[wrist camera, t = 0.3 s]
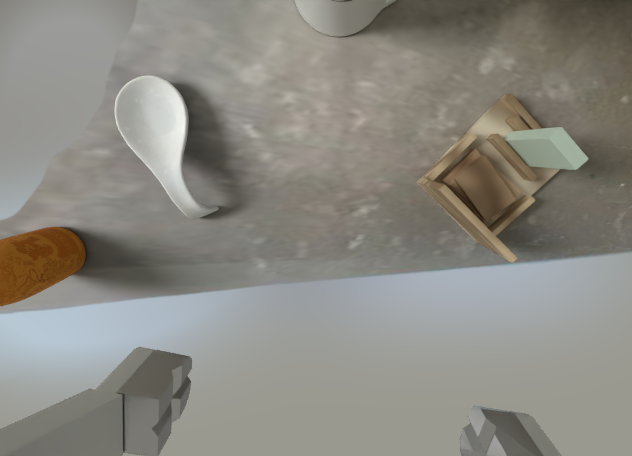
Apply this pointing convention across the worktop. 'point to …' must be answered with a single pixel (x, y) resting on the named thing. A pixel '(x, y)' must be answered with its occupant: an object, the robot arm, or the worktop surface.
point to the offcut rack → (501, 156)
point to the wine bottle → (37, 262)
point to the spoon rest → (159, 135)
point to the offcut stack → (481, 186)
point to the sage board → (546, 148)
